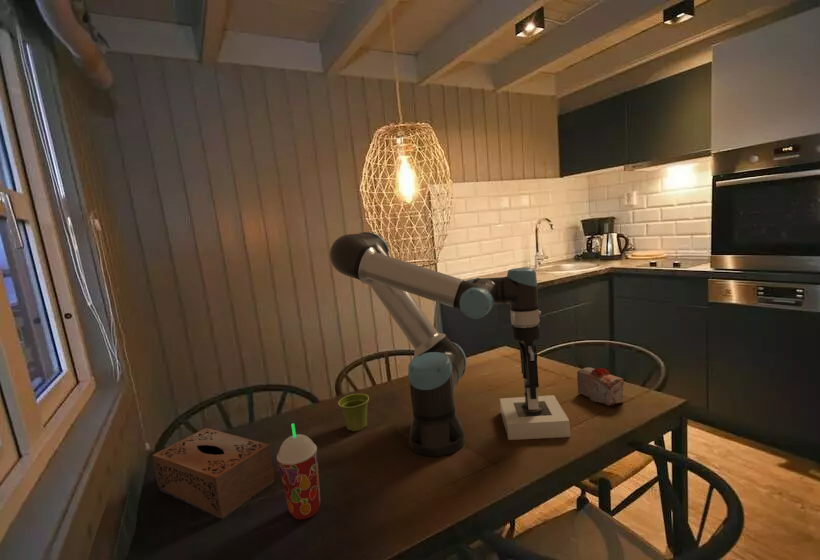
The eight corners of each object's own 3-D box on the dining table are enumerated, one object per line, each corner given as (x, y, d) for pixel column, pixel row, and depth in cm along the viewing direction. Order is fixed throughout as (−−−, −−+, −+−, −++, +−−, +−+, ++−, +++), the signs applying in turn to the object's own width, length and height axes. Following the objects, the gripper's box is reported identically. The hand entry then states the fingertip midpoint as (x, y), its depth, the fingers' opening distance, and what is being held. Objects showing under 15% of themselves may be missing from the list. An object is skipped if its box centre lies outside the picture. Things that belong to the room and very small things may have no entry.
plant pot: (375, 430, 121) (371, 402, 120) (343, 437, 119) (339, 409, 118) (369, 417, 130) (366, 391, 129) (340, 423, 128) (336, 397, 127)
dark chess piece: (541, 413, 117) (538, 373, 116) (546, 423, 112) (543, 381, 110) (520, 414, 118) (517, 375, 117) (524, 424, 112) (520, 382, 111)
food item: (629, 403, 121) (627, 371, 120) (610, 410, 118) (608, 378, 117) (591, 389, 134) (590, 360, 132) (573, 395, 130) (572, 365, 129)
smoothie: (328, 496, 93) (316, 413, 90) (321, 522, 84) (308, 431, 82) (291, 500, 93) (278, 417, 90) (281, 526, 84) (266, 436, 82)
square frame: (508, 439, 108) (507, 424, 108) (500, 412, 124) (499, 398, 123) (570, 436, 106) (569, 420, 106) (554, 409, 122) (553, 395, 122)
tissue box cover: (275, 482, 101) (269, 444, 100) (223, 520, 89) (215, 478, 87) (212, 461, 114) (206, 427, 113) (159, 492, 102) (152, 455, 101)
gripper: (547, 331, 103) (553, 418, 106) (533, 316, 120) (538, 391, 122) (516, 333, 103) (523, 420, 106) (507, 318, 120) (513, 393, 123)
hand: (531, 404), depth 114 cm, fingers closed on dark chess piece, 4 cm apart
